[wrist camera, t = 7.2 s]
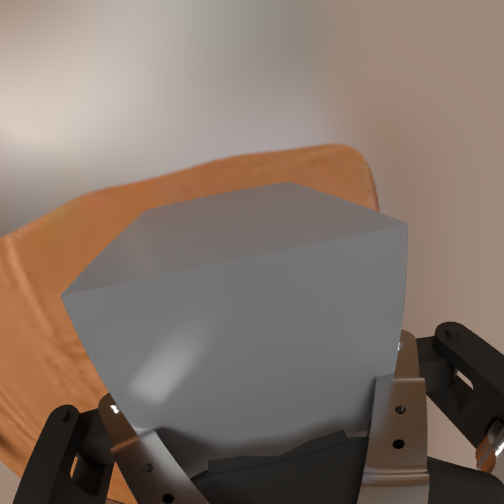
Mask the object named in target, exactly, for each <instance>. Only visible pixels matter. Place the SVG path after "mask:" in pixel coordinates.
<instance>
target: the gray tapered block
mask: <svg viewBox="0 0 504 504" xmlns="http://www.w3.org/2000/svg"><path fill="white" fill-rule="evenodd" d="M407 248H408V224H407V223H405V222H403V221H401V220H398V219H395V218H393V217H390V216H388V215H385V214H383V213H380V212H377V211H375V210H372V209H369V208H367V207H364V206H361V205H358V204H356V203H353V202H350V201H347V200H344V199H342V198H339V197H336V196H333V195H330V194H327V193H324V192H321V191H318V190H315V189H312V188H309V187H306V186H303V185H299V184H296V183H293V182H290V181H289V182H282V183H276V184H270V185H265V186H259V187H253V188H248V189H242V190H237V191H232V192H227V193H222V194H217V195H212V196H207V197H202V198H197V199H192V200H188V201H183V202H179V203H174V204H170V205H166V206H161V207H157V208H153V209H149V210H145V211H144V212H143V213H142V214H141V215H140V216H139V217H138V218H136V219H135V220H134V221H133V222H132V223H131V224H130V225H129V226H128V227H127V228H126V229H125V230H124V231H123V232H122V233H120V234H119V235H118V236H117V237H116V238H115V239H114V240H113V241H112V242H111V243H110V244H109V245H108V246H107V247H106V248H105V249H104V250H103V251H102V252H101V253H100V254H99V255H98V256H97V257H96V258H95V259H94V260H93V261H92V262H91V263H90V264H89V265H88V266H87V267H86V268H85V269H84V271H83V272H82V273H81V274H80V275H79V276H78V277H77V278H76V279H75V280H74V281H73V282H72V283H71V284H70V286H69V287H68V288H67V289H66V290H65V291H64V292H63V293H62V294H61V298H62V301H63V303H64V305H65V308H66V310H67V312H68V315H69V317H70V319H71V321H72V324H73V326H74V328H75V330H76V332H77V334H78V336H79V338H80V340H81V342H82V344H83V346H84V348H85V350H86V352H87V354H88V356H89V358H90V360H91V362H92V363H93V365H94V367H95V369H96V371H97V372H98V374H99V376H100V378H101V379H102V381H103V383H104V384H105V386H106V388H107V389H108V391H109V393H110V394H111V396H112V397H113V399H114V401H115V402H116V404H117V405H118V407H119V408H120V410H121V411H122V413H123V414H124V416H125V417H126V419H127V420H128V422H129V423H130V425H131V426H132V427H133V429H134V430H149V429H152V428H153V429H154V431H155V432H156V434H157V435H158V436H159V438H160V439H161V441H162V442H163V444H164V445H165V447H166V448H167V449H168V451H169V452H170V453H171V455H172V456H173V458H174V459H175V460H176V462H177V463H178V464H179V465H180V467H181V468H182V469H183V471H184V472H185V473H186V474H187V476H188V477H189V478H191V477H193V476H195V475H196V474H199V473H201V472H203V471H206V470H208V462H207V461H209V460H217V459H224V458H231V457H237V456H278V455H281V454H284V453H286V452H288V451H290V450H292V449H294V448H296V447H298V446H300V445H302V444H304V443H306V442H308V441H309V440H312V439H315V438H318V437H322V436H325V435H328V434H331V433H334V432H337V431H340V430H344V432H345V434H346V436H347V437H365V435H366V430H367V425H368V421H369V417H370V412H371V406H372V401H373V394H374V387H375V380H376V378H380V377H383V376H385V375H387V374H390V373H392V372H395V367H396V362H397V356H398V349H399V343H400V336H401V328H402V320H403V311H404V301H405V288H406V272H407Z"/></svg>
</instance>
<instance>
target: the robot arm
mask: <svg viewBox="0 0 504 504" xmlns="http://www.w3.org/2000/svg"><path fill="white" fill-rule="evenodd" d="M458 370H459V371H460V372H461V373H462V374H463V375H464V376H466V377H467V378H468V379H469V380H470V381H471V383H472V385H473V389H472V388H471V387H470V386H468V385H467V384H466V383H465V382H464V381H463V380H462V379H461V378H459V376H458V375H457V373H458ZM426 395H427V396H428V397H429V398H430V399H431V400H432V401H433V402H434V403H435V404H436V405H437V406H438V407H439V409H440V410H441V411H442V412H443V413H444V414H445V415H446V416H447V417H448V418H449V419H450V421H451V422H452V423H453V424H454V425H455V426H456V427H457V428H458V429H459V430H460V432H461V433H462V434H463V435H464V436H465V437H466V438H467V439H468V440H469V442H470V443H471V444H472V445H473V446H474V447H475V448H476V460H477V464H476V465H477V468H478V470H475V469H471V468H467V467H463V466H459V465H456V464H452V463H449V462H445V461H442V460H438V459H435V458H432V457H429V456H427V438H428V437H427V401H426ZM75 456H76V457H77V458H78V460H77V463H76V466H75V470H74V473H73V476H72V479H71V476H70V471H71V467H72V464H73V461H74V458H75ZM114 462H116V463H117V466H118V468H119V470H120V472H121V474H122V476H123V478H124V479H125V481H126V483H127V485H128V487H129V489H130V491H131V492H132V494H133V496H134V498H135V500H136V501H137V503H138V504H504V355H503V354H502V353H500V352H499V351H497V350H496V349H495V348H494V347H492V346H491V345H490V344H488V343H487V342H486V341H484V340H483V339H481V338H480V337H479V336H477V335H476V334H475V333H473V332H472V331H471V330H469V329H468V328H466V327H465V326H464V325H462V324H459V323H456V322H445V323H442V324H440V325H438V326H437V328H436V330H435V335H434V336H431V337H425V338H415V337H414V335H412V334H411V333H410V332H407V331H405V330H401V336H400V343H399V349H398V356H397V362H396V367H395V372H392V373H390V374H387V375H385V376H383V377H380V378H376V380H375V387H374V394H373V401H372V406H371V412H370V417H369V421H368V425H367V430H366V435H365V437H347V436H346V434H345V432H344V430H340V431H337V432H334V433H331V434H328V435H325V436H322V437H318V438H315V439H312V440H309V441H308V442H306V443H304V444H302V445H300V446H298V447H296V448H294V449H292V450H290V451H288V452H286V453H284V454H281V455H278V456H237V457H231V458H224V459H217V460H209V461H207V462H208V470H206V471H203V472H201V473H199V474H196V475H195V476H193V477H191V478H189V477H188V476H187V474H186V473H185V472H184V471H183V469H182V468H181V467H180V465H179V464H178V463H177V462H176V460H175V459H174V458H173V456H172V455H171V453H170V452H169V451H168V449H167V448H166V447H165V445H164V444H163V442H162V441H161V439H160V438H159V436H158V435H157V434H156V432H155V431H154V429H153V428H152V429H149V430H134V429H133V427H132V426H131V425H130V423H129V422H128V420H127V419H126V417H125V416H124V414H123V413H122V411H121V410H120V408H119V407H118V405H117V404H116V402H115V401H114V399H113V397H112V396H111V394H110V393H107V394H106V395H104V396H103V397H102V398H101V400H100V401H99V404H98V408H97V409H94V410H91V411H87V412H84V413H80V412H79V411H78V410H77V408H76V407H74V406H73V405H62V406H60V407H58V408H56V409H55V410H53V411H52V413H51V414H50V415H49V417H48V419H47V421H46V424H45V426H44V428H43V430H42V432H41V434H40V436H39V439H38V441H37V443H36V445H35V447H34V450H33V452H32V454H31V457H30V459H29V461H28V464H27V466H26V469H25V471H24V474H23V476H22V479H21V482H20V484H19V487H18V490H17V493H16V495H15V498H14V501H13V504H121V503H118V502H115V501H112V500H108V499H106V498H107V493H108V489H109V484H110V480H111V475H112V471H113V466H114Z"/></svg>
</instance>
